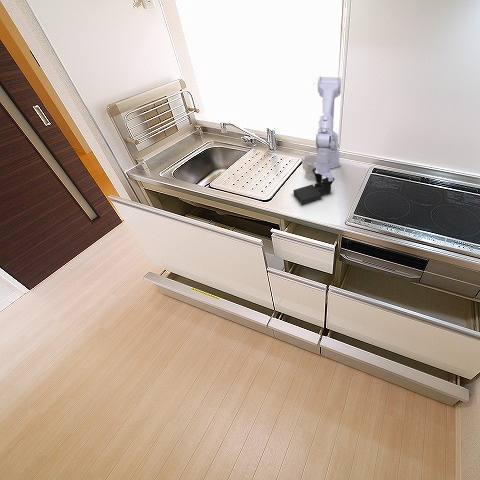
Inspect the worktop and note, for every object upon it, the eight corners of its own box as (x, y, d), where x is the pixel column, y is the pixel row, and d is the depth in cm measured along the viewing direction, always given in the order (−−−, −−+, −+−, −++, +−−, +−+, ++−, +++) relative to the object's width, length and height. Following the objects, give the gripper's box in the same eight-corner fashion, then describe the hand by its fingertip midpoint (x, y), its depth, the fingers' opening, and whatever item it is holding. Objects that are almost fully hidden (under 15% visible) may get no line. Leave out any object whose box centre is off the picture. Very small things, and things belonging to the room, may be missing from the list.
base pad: (315, 188, 127) (316, 183, 125) (325, 198, 122) (325, 192, 120) (293, 195, 123) (293, 189, 121) (302, 205, 118) (301, 200, 116)
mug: (297, 174, 136) (296, 156, 129) (308, 168, 140) (307, 150, 133) (312, 182, 131) (312, 164, 123) (324, 176, 135) (324, 158, 128)
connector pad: (325, 188, 128) (325, 180, 124) (330, 193, 124) (331, 185, 121) (314, 191, 125) (314, 183, 122) (319, 197, 122) (319, 189, 119)
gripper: (307, 155, 116) (308, 181, 126) (323, 170, 107) (322, 197, 117) (321, 151, 118) (321, 177, 128) (338, 166, 110) (336, 193, 119)
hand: (322, 186), depth 123 cm, fingers open, 7 cm apart
